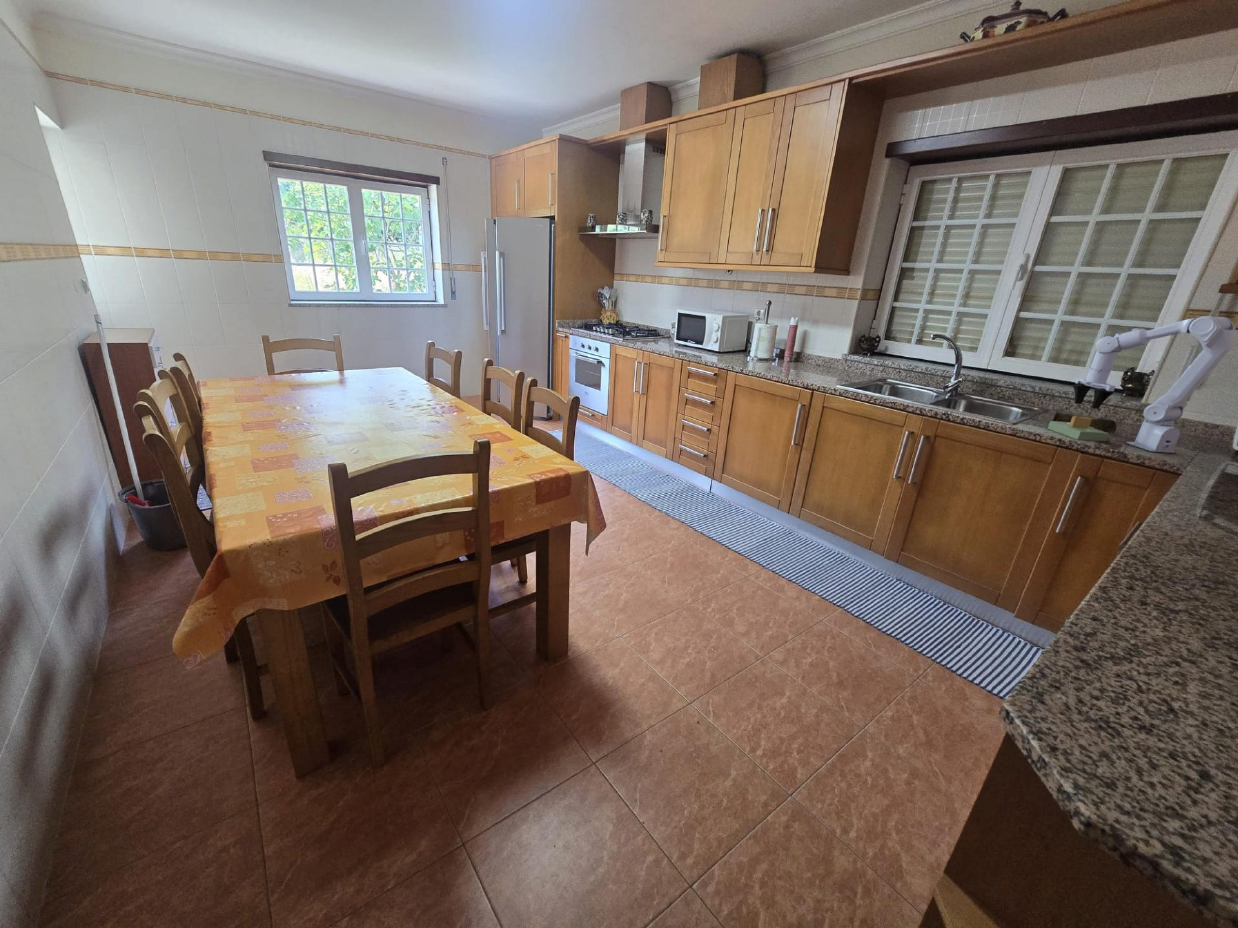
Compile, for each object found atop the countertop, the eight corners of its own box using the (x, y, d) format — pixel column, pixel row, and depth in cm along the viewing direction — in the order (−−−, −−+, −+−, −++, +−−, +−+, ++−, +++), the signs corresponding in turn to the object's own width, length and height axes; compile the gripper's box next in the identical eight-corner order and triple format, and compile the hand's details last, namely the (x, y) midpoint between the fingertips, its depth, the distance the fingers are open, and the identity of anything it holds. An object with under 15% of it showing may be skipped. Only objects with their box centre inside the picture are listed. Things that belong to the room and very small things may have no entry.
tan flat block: (1085, 426, 185) (1089, 417, 184) (1088, 427, 184) (1092, 418, 183) (1068, 425, 185) (1072, 415, 184) (1071, 426, 184) (1075, 416, 183)
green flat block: (1106, 441, 179) (1109, 432, 178) (1077, 439, 179) (1080, 431, 178) (1073, 430, 192) (1077, 422, 191) (1047, 428, 192) (1050, 420, 191)
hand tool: (1051, 421, 205) (1055, 410, 203) (1053, 420, 207) (1058, 409, 205) (1112, 434, 191) (1117, 422, 189) (1114, 432, 193) (1119, 420, 192)
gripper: (1073, 366, 192) (1060, 401, 197) (1106, 372, 178) (1091, 410, 183) (1091, 367, 192) (1078, 402, 197) (1126, 374, 178) (1111, 411, 183)
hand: (1086, 406), depth 190 cm, fingers open, 7 cm apart
